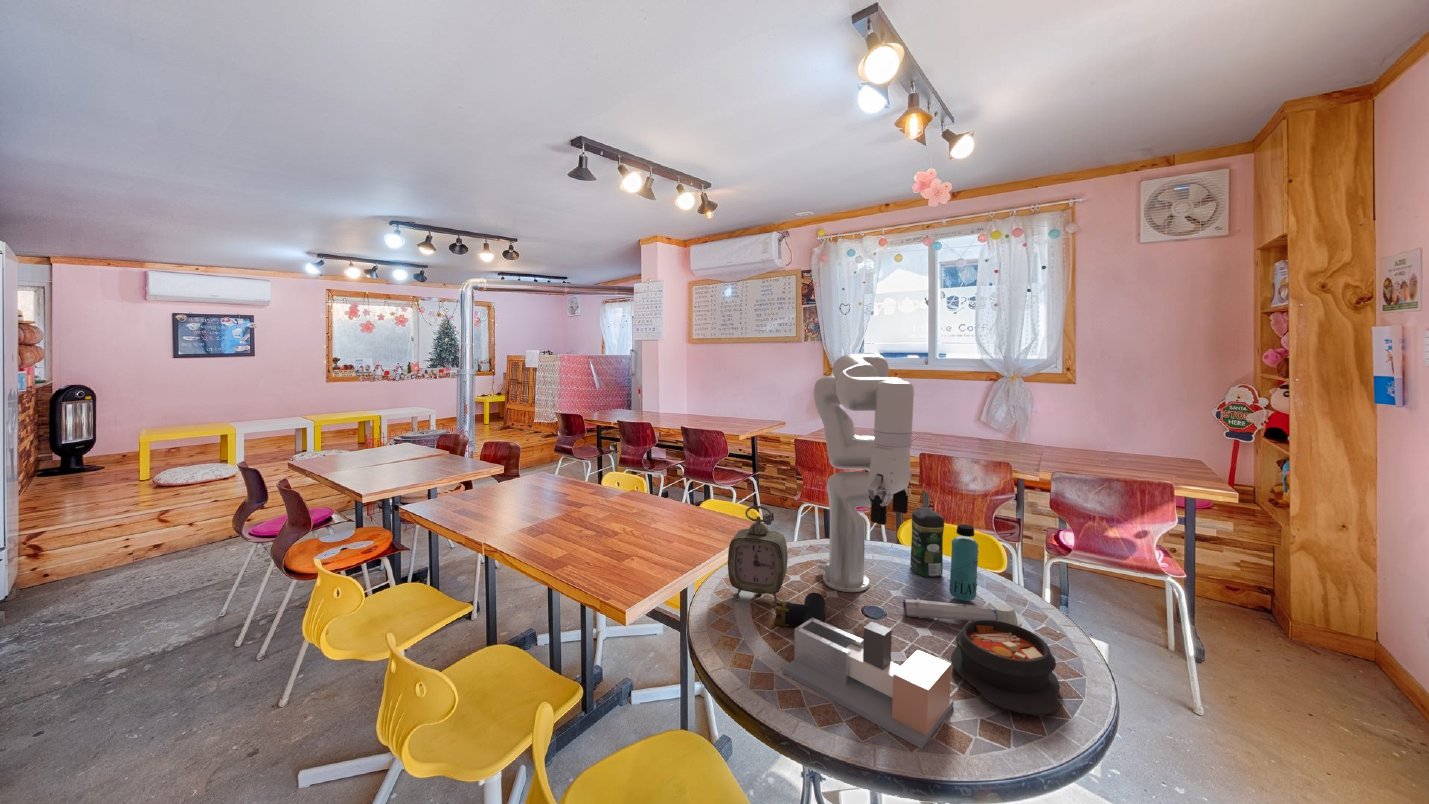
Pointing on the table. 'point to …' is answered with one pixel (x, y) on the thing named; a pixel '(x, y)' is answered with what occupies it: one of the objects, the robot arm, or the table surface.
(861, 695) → the base board
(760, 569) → the tabletop clock
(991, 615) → the electric cleaning brush
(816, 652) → the outer sleeve
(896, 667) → the sliding latch bolt
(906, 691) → the socket block
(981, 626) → the casserole
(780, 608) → the pipe connector
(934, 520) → the coffee jar
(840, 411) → the robot arm
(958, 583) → the beverage bottle
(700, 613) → the table surface
